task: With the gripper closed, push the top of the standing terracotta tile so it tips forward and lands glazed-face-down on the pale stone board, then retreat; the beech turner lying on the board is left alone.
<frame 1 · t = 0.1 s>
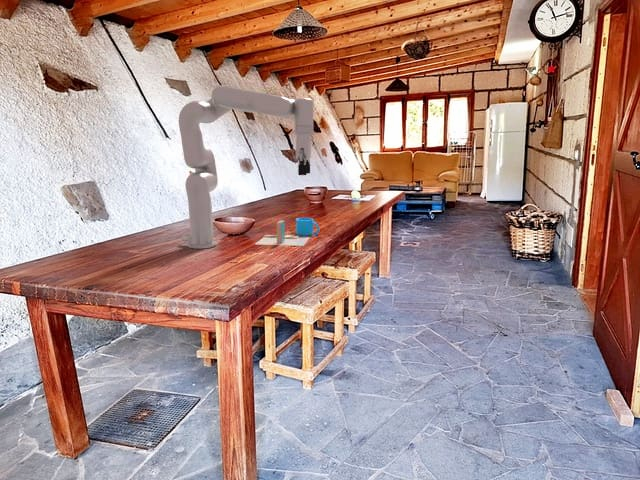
hand: (304, 174, 190), 31 cm above the table, fingers open, 9 cm apart
mug: (308, 237, 222), on the table
turner: (283, 237, 214), point 1 cm above the table, touching board
board: (283, 243, 207), on the table
tile: (280, 241, 204), point 1 cm above the table, touching board
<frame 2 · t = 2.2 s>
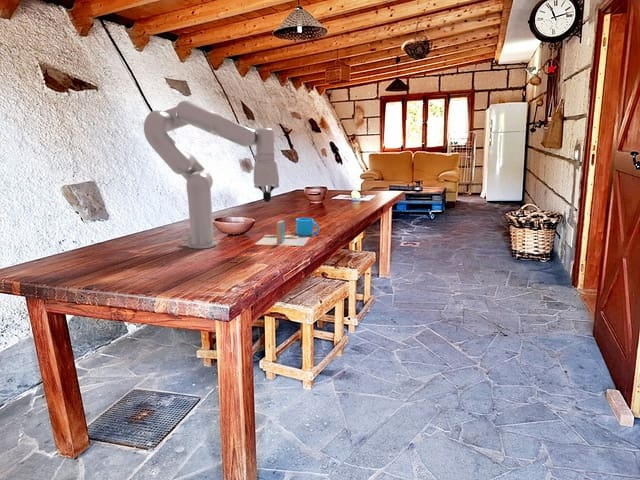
hand: (267, 201, 201), 19 cm above the table, fingers closed
nothing on the table moved.
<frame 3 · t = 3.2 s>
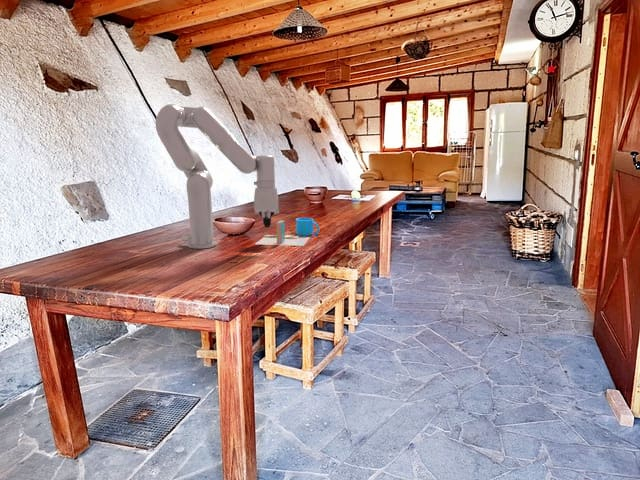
hand: (267, 226, 204), 8 cm above the table, fingers closed
nothing on the table moved.
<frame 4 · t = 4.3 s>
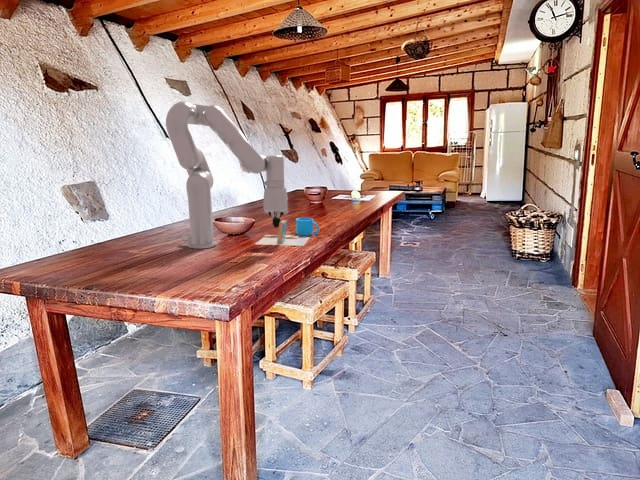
hand: (276, 226, 203), 8 cm above the table, fingers closed
tile: (280, 241, 204), point 1 cm above the table, tilted 8°, touching board
everything else where it was.
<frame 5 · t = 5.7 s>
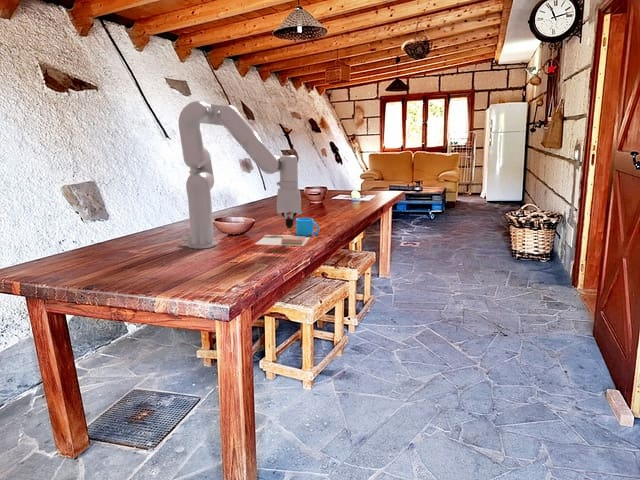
hand: (289, 227, 202), 8 cm above the table, fingers closed
tile: (283, 239, 204), point 2 cm above the table, tilted 90°, touching board
everything else where it was.
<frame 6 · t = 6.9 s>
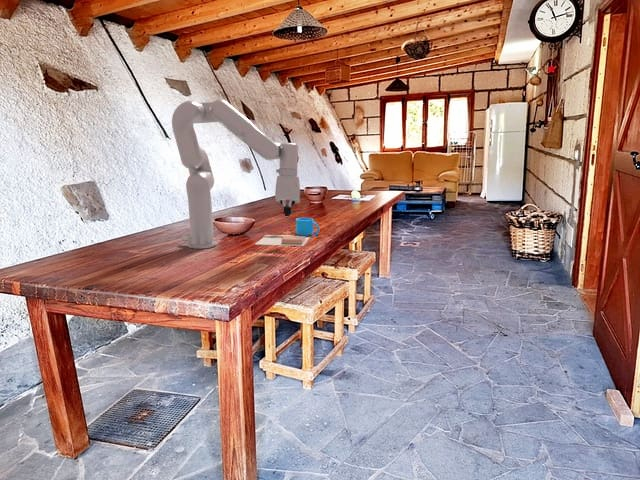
hand: (287, 215, 201), 13 cm above the table, fingers closed
nothing on the table moved.
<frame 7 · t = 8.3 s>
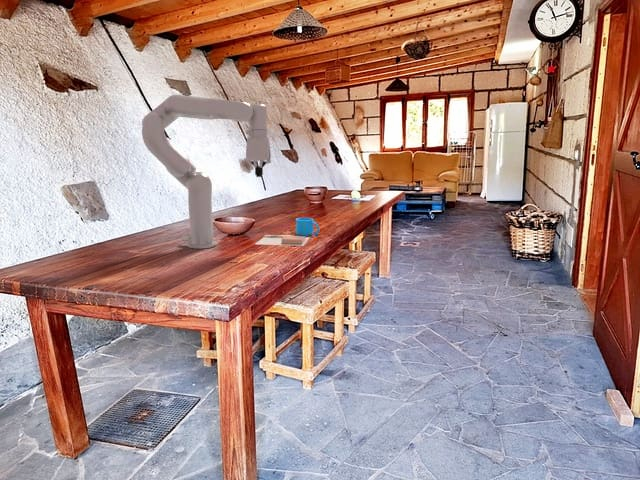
hand: (259, 176, 206), 29 cm above the table, fingers closed
nothing on the table moved.
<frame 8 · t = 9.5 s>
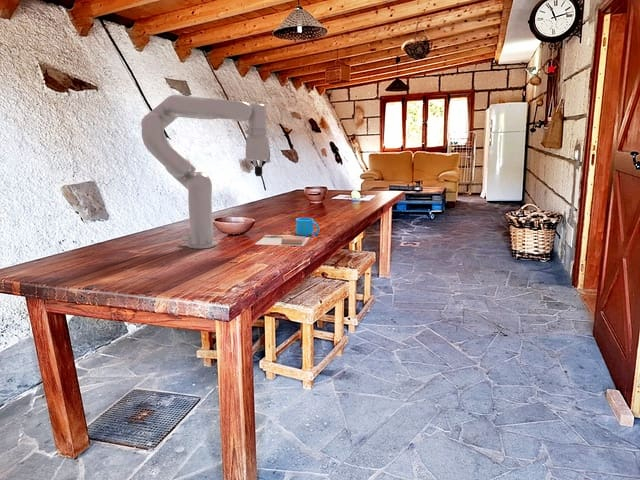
hand: (258, 176, 207), 29 cm above the table, fingers closed
nothing on the table moved.
at the end: tile tilted 90°; tile point 2.3 cm above the table; tile inside the target area (3.0 cm from its centre), point 2.3 cm above the table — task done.
